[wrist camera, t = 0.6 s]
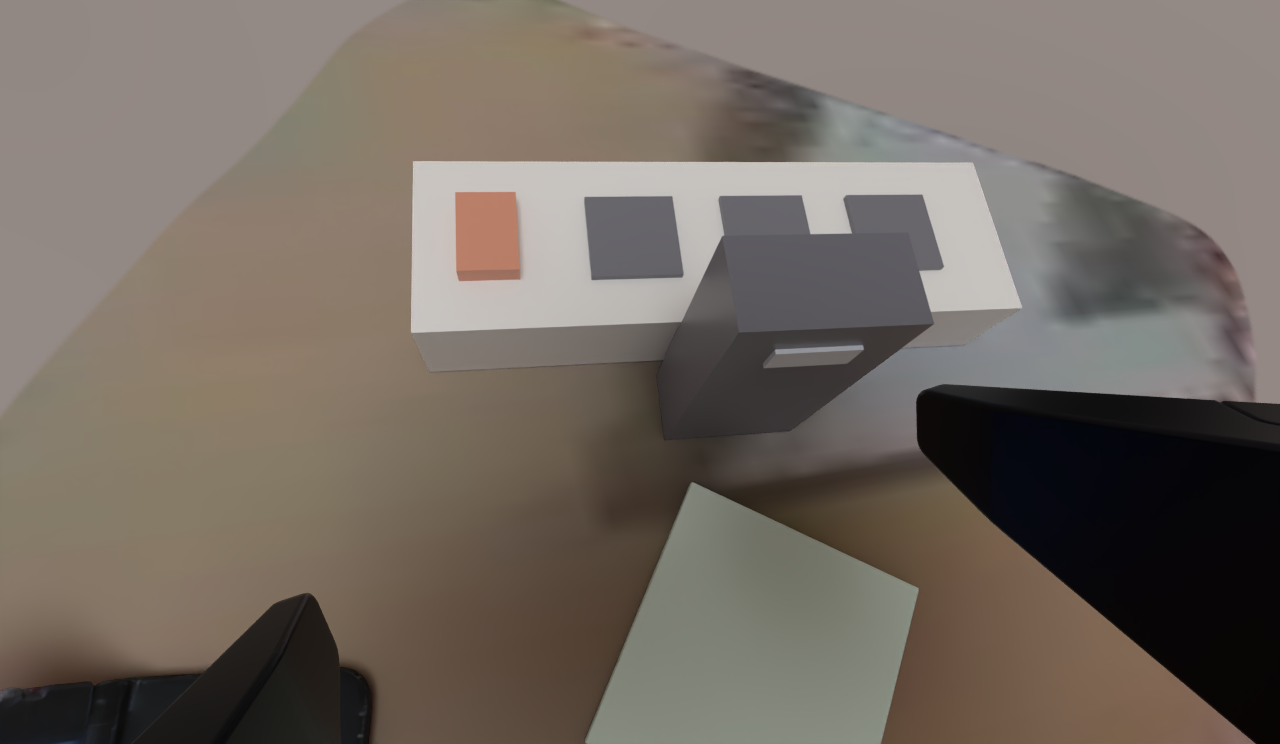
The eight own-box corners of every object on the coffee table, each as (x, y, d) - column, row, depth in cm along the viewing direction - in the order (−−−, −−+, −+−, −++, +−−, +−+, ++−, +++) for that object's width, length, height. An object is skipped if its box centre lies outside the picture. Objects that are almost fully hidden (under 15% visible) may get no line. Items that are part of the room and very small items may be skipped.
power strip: (924, 213, 30) (983, 151, 26) (964, 347, 28) (1036, 302, 24) (429, 219, 26) (409, 148, 22) (429, 374, 24) (406, 326, 20)
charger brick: (790, 434, 25) (935, 328, 16) (664, 443, 24) (739, 337, 15) (778, 368, 26) (908, 232, 17) (656, 375, 25) (722, 235, 16)
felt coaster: (913, 589, 24) (919, 588, 23) (844, 865, 20) (849, 870, 20) (689, 483, 24) (692, 481, 23) (584, 740, 20) (585, 742, 20)
